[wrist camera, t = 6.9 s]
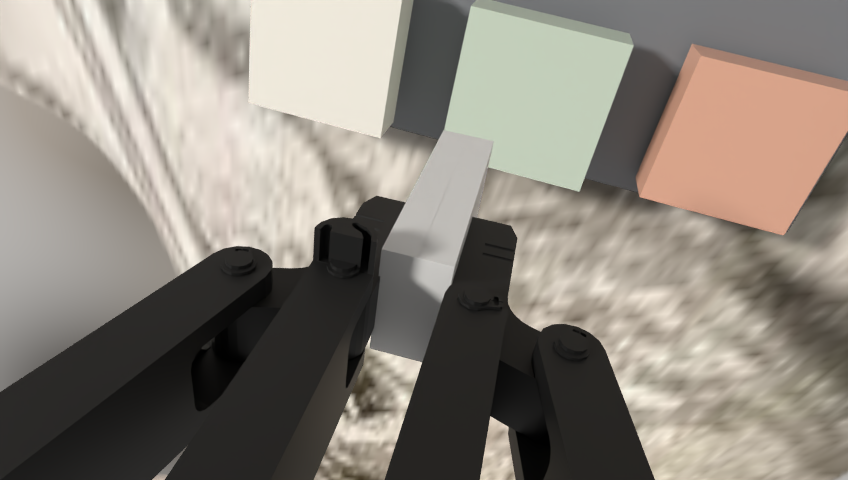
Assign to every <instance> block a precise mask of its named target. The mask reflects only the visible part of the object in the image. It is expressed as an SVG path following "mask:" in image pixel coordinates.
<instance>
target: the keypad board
mask: <svg viewBox="0 0 848 480" xmlns="http://www.w3.org/2000/svg"><path fill="white" fill-rule="evenodd" d="M475 1H476V0H414V1H413V7H412V13H411V19H410V25H409V31H408V37H407V43H406V49H405V55H404V61H403V67H402V73H401V79H400V85H399V91H398V97H397V103H396V109H395V115H394V121H393V123H392V125H391V126H390V127H393V128H397V129H401V130H404V131H408V132H412V133H416V134H419V135H423V136H427V137H431V138H435V139H438V140H439V138H440V136H441V134H442V132H443V130H444V128H445V123H446V119H447V114H448V110H449V105H450V100H451V96H452V91H453V87H454V82H455V77H456V73H457V68H458V63H459V59H460V54H461V50H462V45H463V40H464V36H465V31H466V27H467V22H468V17H469V13H470V8H471V5H472V4H473V3H474V2H475ZM493 1H497V2H501V3H505V4H509V5H513V6H518V7H522V8H526V9H530V10H534V11H538V12H542V13H547V14H551V15H555V16H559V17H563V18H567V19H571V20H576V21H580V22H584V23H588V24H592V25H596V26H600V27H605V28H609V29H613V30H617V31H621V32H625V33H629V34H630V36H631V39H632V42H633V45H634V46H633V49H632V52H631V54H630V57H629V60H628V62H627V65H626V68H625V70H624V73H623V76H622V79H621V81H620V84H619V87H618V89H617V92H616V95H615V97H614V100H613V103H612V105H611V108H610V111H609V113H608V116H607V119H606V122H605V124H604V127H603V130H602V132H601V135H600V138H599V140H598V143H597V146H596V148H595V151H594V154H593V157H592V159H591V162H590V165H589V167H588V170H587V173H586V175H585V179H589V180H592V181H596V182H600V183H604V184H608V185H611V186H615V187H619V188H623V189H626V190H630V191H634V192H638V187H637V182H636V175H637V172H638V170H639V168H640V165H641V163H642V161H643V158H644V156H645V153H646V151H647V149H648V146H649V144H650V142H651V139H652V137H653V135H654V132H655V130H656V128H657V125H658V123H659V120H660V118H661V116H662V113H663V111H664V109H665V106H666V104H667V102H668V99H669V97H670V94H671V92H672V90H673V87H674V85H675V83H676V80H677V78H678V76H679V73H680V71H681V68H682V66H683V64H684V61H685V59H686V57H687V54H688V52H689V50H690V47H691V45H692V44H696V45H700V46H704V47H708V48H712V49H717V50H721V51H725V52H729V53H733V54H737V55H742V56H746V57H750V58H754V59H758V60H762V61H766V62H771V63H775V64H779V65H783V66H787V67H791V68H796V69H800V70H804V71H808V72H812V73H816V74H820V75H825V76H829V77H833V78H837V79H841V80H845V81H848V0H493ZM847 134H848V131H847V133H846V135H845V136H844V138H843V140H842V141H841V143H840V144H839V146H838V148H837V149H836V151H835V153H834V154H833V156H832V158H831V159H830V161H829V162H828V164H827V166H826V167H825V169H824V171H823V172H822V174H821V175H820V177H819V179H818V180H817V182H816V184H815V185H814V187H813V189H812V190H811V192H810V193H809V195H808V197H807V198H806V200H805V202H804V203H803V205H802V206H801V208H800V210H799V211H798V213H797V215H796V216H795V218H794V220H793V221H792V223H791V224H790V226H789V228H788V229H787V231H786V232H788V230H789V229H790V227H791V225H792V224H793V222H794V221H795V219H796V217H797V216H798V214H799V212H800V211H801V209H802V208H803V206H804V204H805V203H806V201H807V199H808V198H809V196H810V195H811V193H812V191H813V190H814V188H815V186H816V185H817V183H818V182H819V180H820V178H821V177H822V175H823V173H824V172H825V170H826V168H827V167H828V165H829V164H830V162H831V160H832V159H833V157H834V155H835V154H836V152H837V151H838V149H839V147H840V146H841V144H842V142H843V141H844V139H845V138H846V136H847Z"/></svg>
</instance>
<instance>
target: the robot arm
mask: <svg viewBox="0 0 848 480" xmlns="http://www.w3.org/2000/svg"><path fill="white" fill-rule="evenodd" d="M493 143H494V141H491V140H487V139H482V138H477V137H473V136H468V135H464V134H459V133H455V132H450V131H445V130H443V132H442V134H441V136H440V138H439V140H438V142H437V144H436V146H435V148H434V150H433V151H432V153H431V155H430V157H429V159H428V161H427V163H426V165H425V167H424V169H423V171H422V173H421V175H420V176H419V178H418V180H417V182H416V184H415V186H414V188H413V190H412V192H411V194H410V196H409V198H408V199H407V201H406V203H405V202H401V201H397V200H392V199H388V198H384V197H379V196H375V197H374V198H372V199H370V200H368V201H366V202H364V203H363V204H362V206H361V207H360V209H359V210H358V212H357V213H356V216H354V218H353V219H352V218H344V217H343V218H331V219H329V220H326V221H323V222H321V223H320V224H318V225H317V226H316V227H315V231H314V254H313V261H312V263H311V264H310V266H309V267H305V268H272V260H271V259H270V257H269V255H267V254H266V253H264V252H263V251H261V250H259V249H255V248H252V247H241V246H236V247H230V248H225V249H222V250H220V251H218V252H216V253H213V254H212V255H210V256H209V257H207V258H206V259H204V260H203V261H201V262H200V263H198V264H197V265H195V266H193V267H192V268H190V269H189V270H187V271H186V272H184V273H183V274H181V275H180V276H178V277H177V278H175V279H173V280H172V281H170V282H169V283H167V284H166V285H164V286H163V287H162V288H160V289H158V290H157V291H155V292H153V293H152V294H150V295H149V296H148V297H146V298H144V299H143V300H141V301H140V302H138V303H137V304H135V305H134V306H132V307H130V308H129V309H127V310H126V311H124V312H123V313H121V314H120V315H118V316H117V317H115V318H113V319H112V320H110V321H109V322H108V323H106V324H104V325H103V326H101V327H100V328H98V329H97V330H95V331H93V332H92V333H90V334H89V335H87V336H86V337H84V338H83V339H81V340H80V341H78V342H77V343H75V344H74V345H72V346H70V347H69V348H67V349H66V350H65V351H63V352H61V353H60V354H58V355H57V356H55V357H54V358H52V359H50V360H49V361H47V362H46V363H44V364H43V365H41V366H40V367H38V368H37V369H35V370H34V371H32V372H31V373H29V374H27V375H26V376H24V377H23V378H21V379H20V380H18V381H17V382H15V383H13V384H12V385H11V386H9V387H7V388H6V389H4V390H3V391H1V392H0V480H152V479H153V478H154V477H155V476H156V475H157V474H158V473H159V472H160V471H161V470H162V469H164V467H166V466H167V465H168V464H169V463H170V462H171V461H172V460H173V459H174V458H175V457H176V456H177V455H178V454H179V453H180V452H181V451H182V450H183V449H184V448H185V447H186V446H187V448H186V449H185V451H184V452H183V454H182V455H181V457H180V458H179V459H178V461H177V462H176V464H175V465H174V467H173V469H172V470H171V471H170V473H169V474H168V476H167V477H166V479H165V480H314V477H315V475H316V473H317V470H318V468H319V466H320V463H321V461H322V459H323V456H324V454H325V452H326V450H327V447H328V445H329V443H330V440H331V438H332V436H333V433H334V431H335V429H336V426H337V424H338V422H339V419H340V417H341V415H342V412H343V410H344V408H345V406H346V403H347V401H348V399H349V396H350V394H351V392H352V389H353V387H354V385H355V382H356V380H357V378H358V375H359V373H360V371H361V368H362V366H363V362H364V354H365V347H366V345H367V343H368V340H369V338H370V336H371V342H370V348H371V349H375V350H378V351H382V352H386V353H390V354H394V355H397V356H401V357H405V358H409V359H413V360H416V361H420V362H422V365H421V368H420V371H419V375H418V378H417V381H416V384H415V387H414V390H413V393H412V396H411V399H410V403H409V406H408V409H407V412H406V415H405V418H404V421H403V424H402V427H401V430H400V434H399V437H398V440H397V443H396V446H395V449H394V452H393V455H392V458H391V462H390V465H389V468H388V471H387V474H386V477H385V480H480V474H481V468H482V462H483V456H484V450H485V444H486V438H487V432H488V426H489V420H490V416H491V417H493V418H495V419H496V420H498V421H500V422H501V423H503V424H505V425H507V426H508V427H509V431H508V436H509V442H510V448H511V454H512V460H513V466H514V472H515V478H516V480H655V479H654V476H653V474H652V471H651V469H650V466H649V463H648V461H647V458H646V455H645V453H644V450H643V448H642V445H641V442H640V440H639V437H638V435H637V432H636V429H635V427H634V424H633V421H632V419H631V416H630V414H629V411H628V408H627V406H626V403H625V401H624V398H623V395H622V393H621V390H620V388H619V385H618V382H617V380H616V377H615V374H614V372H613V369H612V367H611V364H610V361H609V359H608V356H607V354H606V351H605V349H604V348H603V346H602V344H601V343H600V341H599V340H598V339H596V338H595V337H594V336H593V335H592V334H590V333H589V332H587V331H585V330H583V329H581V328H579V327H576V326H571V325H567V324H554V325H551V326H548V327H546V328H544V329H543V330H542V331H541V332H540V331H538V330H536V329H534V328H532V327H530V326H528V325H527V324H525V323H523V322H522V321H521V320H519V319H518V318H517V317H516V316H515V315H514V314H513V312H512V311H511V310H510V307H509V305H508V291H509V285H510V279H511V273H512V267H513V261H514V255H515V249H516V243H517V237H516V235H515V233H514V231H513V229H512V227H511V226H510V225H505V224H501V223H497V222H493V221H488V220H484V219H480V218H477V216H478V211H479V207H480V202H481V198H482V193H483V189H484V184H485V179H486V175H487V170H488V166H489V161H490V157H491V152H492V148H493Z"/></svg>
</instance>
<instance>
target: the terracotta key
mask: <svg viewBox="0 0 848 480" xmlns="http://www.w3.org/2000/svg"><path fill="white" fill-rule="evenodd" d="M847 131H848V81H845V80H841V79H837V78H833V77H829V76H825V75H820V74H816V73H812V72H808V71H804V70H800V69H796V68H791V67H787V66H783V65H779V64H775V63H771V62H766V61H762V60H758V59H754V58H750V57H746V56H742V55H737V54H733V53H729V52H725V51H721V50H717V49H712V48H708V47H704V46H700V45H696V44H692V45H691V47H690V50H689V52H688V54H687V57H686V59H685V61H684V64H683V66H682V68H681V71H680V73H679V76H678V78H677V80H676V83H675V85H674V87H673V90H672V92H671V94H670V97H669V99H668V102H667V104H666V106H665V109H664V111H663V113H662V116H661V118H660V120H659V123H658V125H657V128H656V130H655V132H654V135H653V137H652V139H651V142H650V144H649V146H648V149H647V151H646V153H645V156H644V158H643V161H642V163H641V165H640V168H639V170H638V172H637V175H636V182H637V187H638V193H639V197H641V198H645V199H649V200H652V201H656V202H660V203H664V204H668V205H671V206H675V207H679V208H683V209H686V210H690V211H694V212H698V213H701V214H705V215H709V216H713V217H716V218H720V219H724V220H728V221H731V222H735V223H739V224H743V225H746V226H750V227H754V228H758V229H761V230H765V231H769V232H773V233H776V234H780V235H784V234H785V233H786V231H787V229H788V228H789V226H790V224H791V223H792V221H793V220H794V218H795V216H796V215H797V213H798V211H799V210H800V208H801V206H802V205H803V203H804V202H805V200H806V198H807V197H808V195H809V193H810V192H811V190H812V189H813V187H814V185H815V184H816V182H817V180H818V179H819V177H820V175H821V174H822V172H823V171H824V169H825V167H826V166H827V164H828V162H829V161H830V159H831V158H832V156H833V154H834V153H835V151H836V149H837V148H838V146H839V144H840V143H841V141H842V140H843V138H844V136H845V135H846V133H847Z"/></svg>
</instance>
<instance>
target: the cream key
mask: <svg viewBox="0 0 848 480" xmlns="http://www.w3.org/2000/svg"><path fill="white" fill-rule="evenodd" d="M413 1H414V0H251V20H250V61H249V102H248V103H250V104H254V105H258V106H261V107H265V108H269V109H273V110H276V111H280V112H284V113H288V114H291V115H295V116H299V117H302V118H306V119H310V120H314V121H317V122H321V123H325V124H329V125H332V126H336V127H340V128H343V129H347V130H351V131H355V132H358V133H362V134H366V135H370V136H373V137H377V138H381V137H382V136H383V135H384V133H385V132H386V131H387V130H388V128H389V127H390V126H391V125H392V123H393V121H394V115H395V109H396V103H397V97H398V91H399V85H400V79H401V73H402V67H403V61H404V55H405V49H406V43H407V37H408V31H409V25H410V19H411V13H412V7H413Z"/></svg>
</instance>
